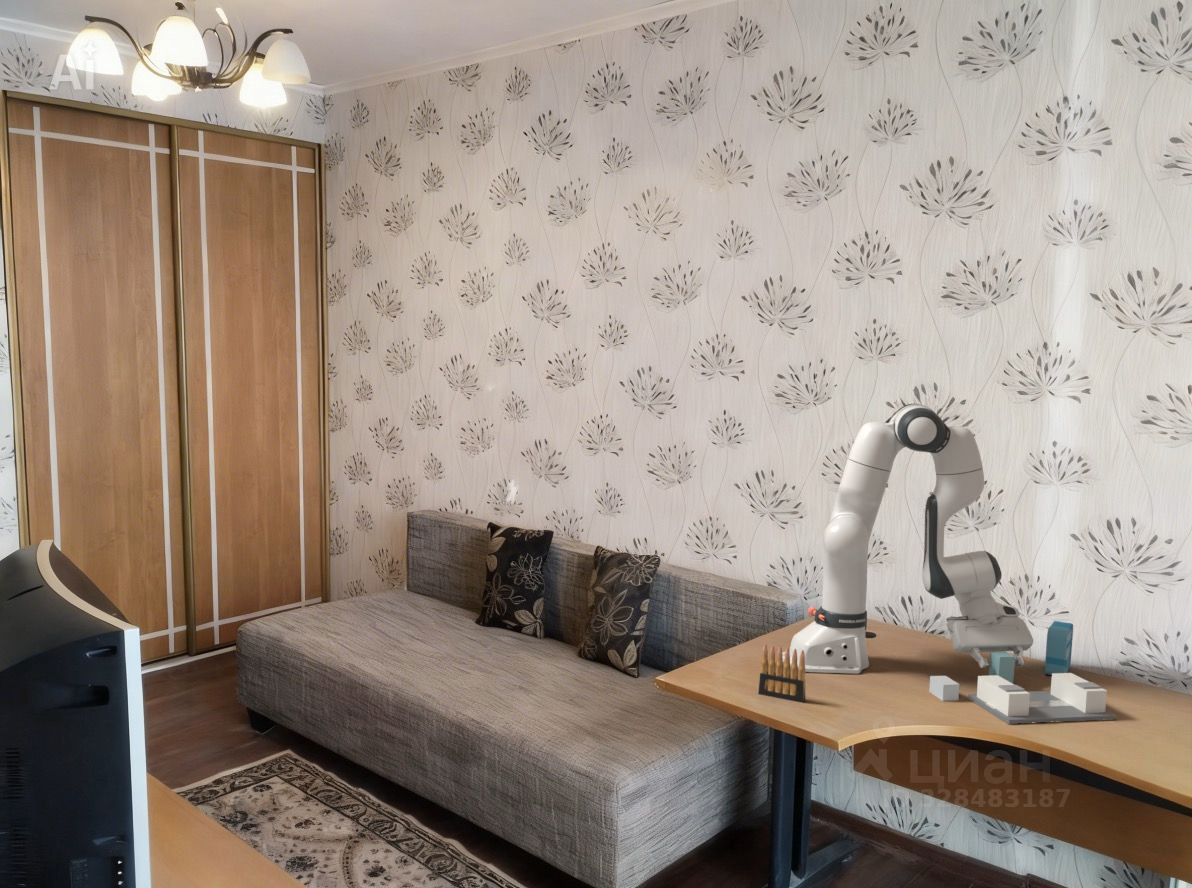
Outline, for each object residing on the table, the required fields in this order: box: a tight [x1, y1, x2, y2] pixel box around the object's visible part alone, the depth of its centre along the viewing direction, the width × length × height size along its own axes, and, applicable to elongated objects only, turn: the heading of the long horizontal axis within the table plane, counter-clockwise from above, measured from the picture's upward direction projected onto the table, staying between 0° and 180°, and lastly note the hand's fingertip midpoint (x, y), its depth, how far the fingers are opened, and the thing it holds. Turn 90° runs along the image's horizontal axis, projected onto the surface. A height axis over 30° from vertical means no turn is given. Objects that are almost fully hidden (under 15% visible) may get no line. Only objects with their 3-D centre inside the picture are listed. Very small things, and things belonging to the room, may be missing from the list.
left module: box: [976, 675, 1030, 716], centre depth 210 cm, size 5×12×5 cm, turn 10°
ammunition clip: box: [757, 643, 806, 703], centre depth 214 cm, size 11×2×12 cm, turn 62°
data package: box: [1044, 620, 1074, 676], centre depth 238 cm, size 12×4×12 cm, turn 146°
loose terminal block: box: [928, 675, 960, 702], centre depth 218 cm, size 4×6×4 cm, turn 10°
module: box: [988, 651, 1016, 684], centre depth 226 cm, size 4×4×8 cm
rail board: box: [967, 690, 1116, 725], centre depth 212 cm, size 26×16×1 cm, turn 100°
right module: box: [1050, 672, 1108, 713], centre depth 213 cm, size 5×12×5 cm, turn 9°
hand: (1002, 666), depth 226 cm, fingers open, 8 cm apart
